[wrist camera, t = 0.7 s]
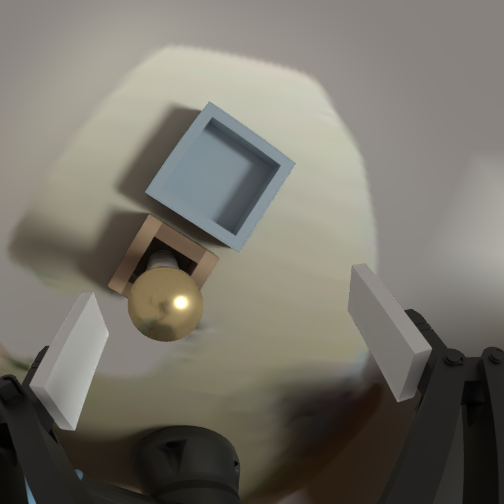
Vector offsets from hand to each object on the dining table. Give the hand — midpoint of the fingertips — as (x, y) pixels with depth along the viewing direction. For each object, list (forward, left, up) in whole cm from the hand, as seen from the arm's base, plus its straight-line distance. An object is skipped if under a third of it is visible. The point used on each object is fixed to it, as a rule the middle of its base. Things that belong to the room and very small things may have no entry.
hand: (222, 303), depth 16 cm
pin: (-3, +2, -20) cm, 20 cm away
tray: (+8, +2, -20) cm, 21 cm away
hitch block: (-3, +2, -20) cm, 20 cm away
